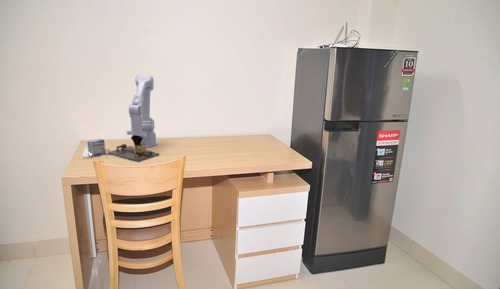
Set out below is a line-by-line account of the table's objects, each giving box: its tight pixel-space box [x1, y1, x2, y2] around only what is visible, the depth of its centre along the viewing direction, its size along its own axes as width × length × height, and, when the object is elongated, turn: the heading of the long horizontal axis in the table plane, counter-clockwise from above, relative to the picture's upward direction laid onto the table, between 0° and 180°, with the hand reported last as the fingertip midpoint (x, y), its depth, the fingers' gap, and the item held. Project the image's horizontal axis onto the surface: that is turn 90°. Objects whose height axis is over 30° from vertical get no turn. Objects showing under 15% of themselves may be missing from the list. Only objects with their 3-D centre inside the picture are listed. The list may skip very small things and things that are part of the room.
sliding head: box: [134, 144, 147, 155], centre depth 188 cm, size 7×3×5 cm, turn 151°
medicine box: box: [86, 138, 106, 158], centre depth 186 cm, size 8×4×9 cm, turn 149°
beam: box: [116, 143, 153, 156], centre depth 189 cm, size 6×23×3 cm, turn 61°
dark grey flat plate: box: [107, 145, 160, 163], centre depth 191 cm, size 16×25×1 cm, turn 61°
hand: (137, 148), depth 190 cm, fingers closed
